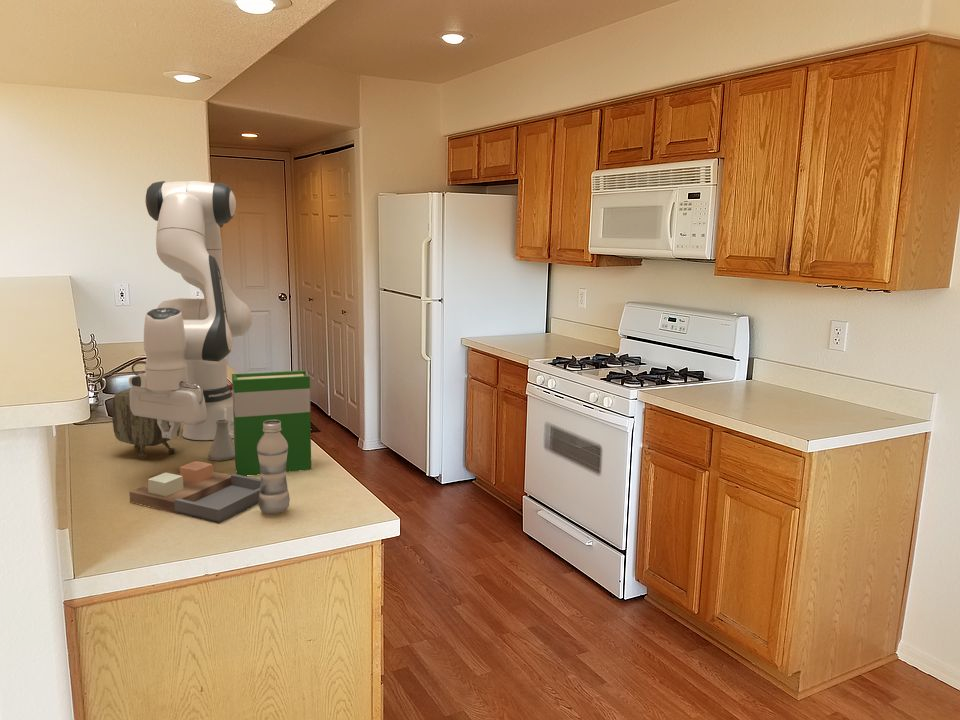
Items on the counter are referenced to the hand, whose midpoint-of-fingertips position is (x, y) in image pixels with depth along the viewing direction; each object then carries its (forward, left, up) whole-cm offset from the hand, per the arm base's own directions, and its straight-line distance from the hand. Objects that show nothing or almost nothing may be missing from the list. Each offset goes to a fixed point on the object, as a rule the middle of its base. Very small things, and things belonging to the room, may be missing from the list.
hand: (169, 438), depth 170 cm
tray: (+4, +20, -11) cm, 23 cm away
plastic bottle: (+3, +32, -11) cm, 34 cm away
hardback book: (-19, +14, -11) cm, 26 cm away
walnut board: (+4, +7, -11) cm, 14 cm away
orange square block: (0, +7, -9) cm, 11 cm away
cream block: (+9, +7, -9) cm, 14 cm away
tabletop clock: (-12, -21, -11) cm, 27 cm away
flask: (-20, -3, -11) cm, 24 cm away
